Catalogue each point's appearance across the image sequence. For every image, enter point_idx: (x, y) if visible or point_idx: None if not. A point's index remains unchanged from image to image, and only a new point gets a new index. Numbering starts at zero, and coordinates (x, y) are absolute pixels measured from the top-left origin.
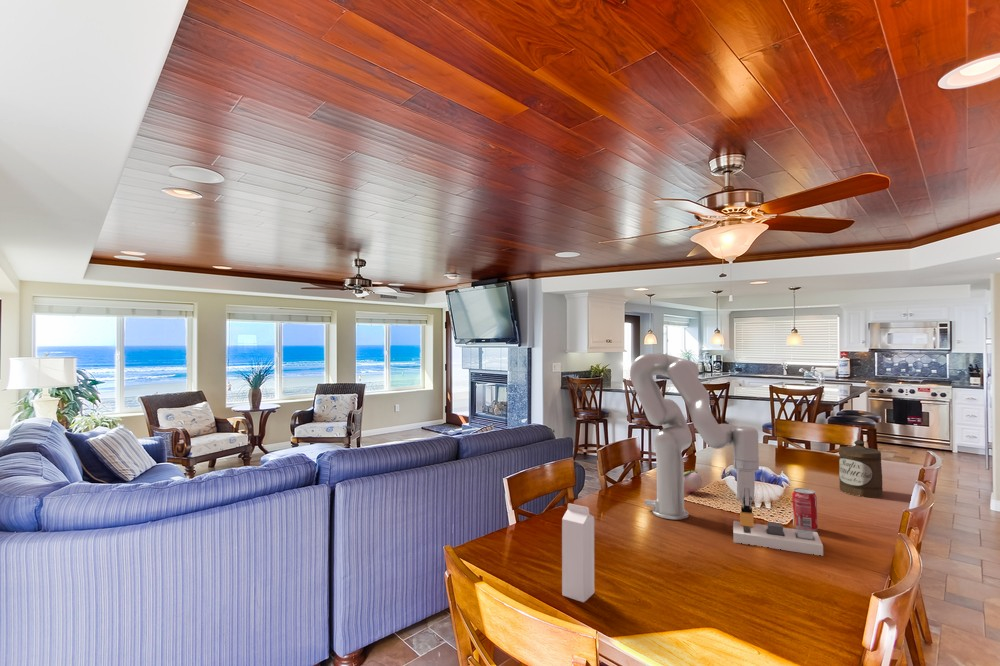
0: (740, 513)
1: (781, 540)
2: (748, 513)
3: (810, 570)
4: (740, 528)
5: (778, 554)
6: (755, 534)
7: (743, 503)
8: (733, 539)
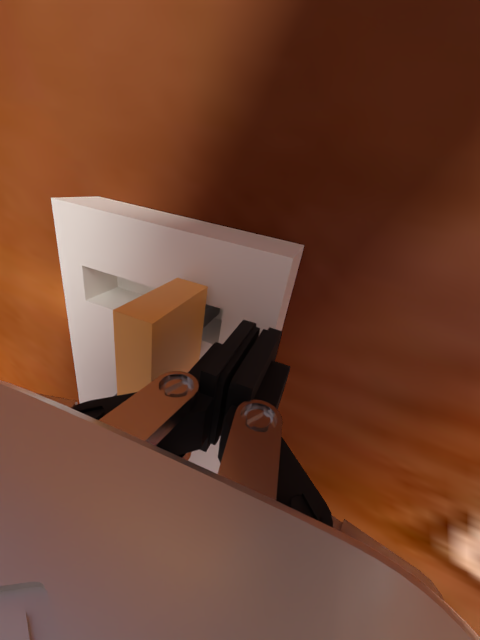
0: (117, 312)
1: (82, 399)
2: (129, 376)
3: (9, 380)
4: (140, 265)
5: (66, 347)
6: (86, 319)
7: (78, 407)
8: (87, 197)
